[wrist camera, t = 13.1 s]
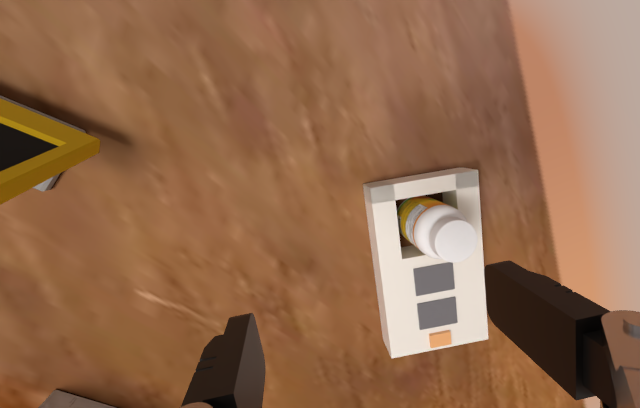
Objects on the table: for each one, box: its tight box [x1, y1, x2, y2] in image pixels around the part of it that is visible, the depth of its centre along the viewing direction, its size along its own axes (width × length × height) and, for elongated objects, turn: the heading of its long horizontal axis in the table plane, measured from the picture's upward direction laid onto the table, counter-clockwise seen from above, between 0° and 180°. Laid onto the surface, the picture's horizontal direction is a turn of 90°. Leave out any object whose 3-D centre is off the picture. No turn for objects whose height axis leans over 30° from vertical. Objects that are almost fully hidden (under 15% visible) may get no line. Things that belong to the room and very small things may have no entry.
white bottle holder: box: [363, 167, 488, 358], centre depth 38 cm, size 20×12×4 cm, turn 9°
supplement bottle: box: [397, 196, 478, 263], centre depth 34 cm, size 5×5×10 cm
